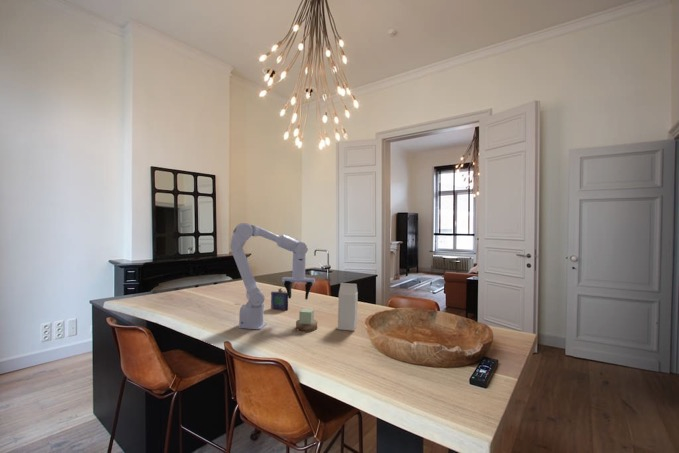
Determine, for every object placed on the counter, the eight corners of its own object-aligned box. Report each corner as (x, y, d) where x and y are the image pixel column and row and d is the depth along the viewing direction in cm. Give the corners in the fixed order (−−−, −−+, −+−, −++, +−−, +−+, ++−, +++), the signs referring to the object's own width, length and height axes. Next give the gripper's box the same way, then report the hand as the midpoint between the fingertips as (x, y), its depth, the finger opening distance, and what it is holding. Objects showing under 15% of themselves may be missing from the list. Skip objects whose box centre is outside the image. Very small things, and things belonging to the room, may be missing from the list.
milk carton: (354, 331, 128) (355, 285, 128) (337, 329, 130) (338, 284, 130) (356, 325, 135) (358, 282, 135) (341, 324, 137) (342, 281, 136)
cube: (299, 323, 128) (299, 311, 128) (302, 319, 133) (302, 308, 133) (310, 324, 128) (311, 312, 128) (313, 320, 133) (313, 309, 133)
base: (293, 330, 127) (293, 324, 127) (299, 323, 136) (299, 317, 136) (314, 332, 126) (314, 326, 126) (319, 325, 135) (319, 319, 135)
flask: (269, 309, 157) (270, 288, 157) (272, 307, 160) (273, 287, 160) (286, 311, 155) (287, 289, 155) (289, 309, 158) (289, 288, 158)
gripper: (280, 268, 135) (279, 299, 136) (313, 270, 134) (312, 301, 134) (285, 266, 142) (284, 296, 143) (316, 268, 141) (315, 297, 141)
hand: (298, 298), depth 139 cm, fingers open, 7 cm apart
